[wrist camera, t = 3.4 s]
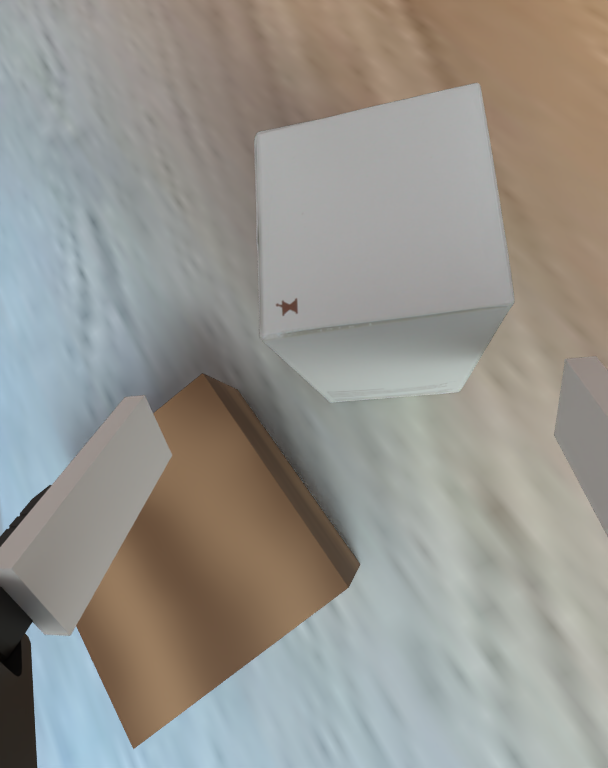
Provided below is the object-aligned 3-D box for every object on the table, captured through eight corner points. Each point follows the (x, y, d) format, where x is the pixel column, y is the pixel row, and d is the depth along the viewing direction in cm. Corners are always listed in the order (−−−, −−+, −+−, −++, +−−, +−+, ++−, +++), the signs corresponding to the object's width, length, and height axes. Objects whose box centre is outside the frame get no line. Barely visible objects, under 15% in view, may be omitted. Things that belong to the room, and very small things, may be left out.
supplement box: (463, 394, 23) (522, 313, 11) (326, 404, 25) (249, 342, 13) (449, 267, 25) (487, 73, 13) (321, 284, 26) (246, 126, 14)
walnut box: (239, 390, 27) (202, 373, 22) (360, 563, 23) (348, 587, 18) (92, 509, 27) (25, 516, 23) (188, 693, 24) (133, 749, 19)
